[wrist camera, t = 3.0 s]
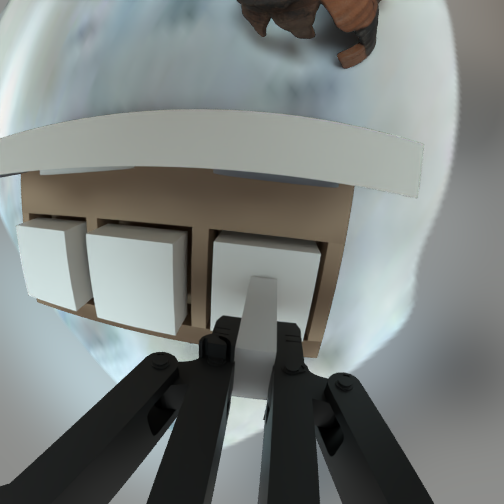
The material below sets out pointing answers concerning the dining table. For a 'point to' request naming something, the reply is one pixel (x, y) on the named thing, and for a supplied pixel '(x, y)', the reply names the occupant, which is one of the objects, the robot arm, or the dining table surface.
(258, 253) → the button
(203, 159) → the pattern card
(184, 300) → the middle button
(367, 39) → the pottery mug
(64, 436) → the robot arm
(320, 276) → the button board
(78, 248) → the button
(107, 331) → the dining table surface
